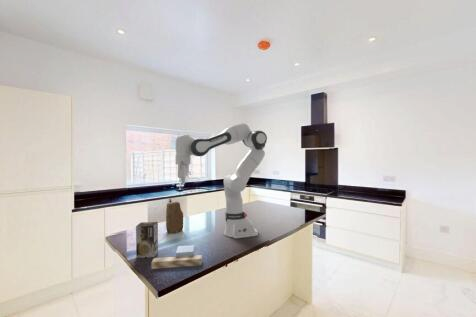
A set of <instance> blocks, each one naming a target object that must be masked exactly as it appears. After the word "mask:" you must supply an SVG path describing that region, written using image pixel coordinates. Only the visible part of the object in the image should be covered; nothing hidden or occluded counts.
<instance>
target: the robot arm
mask: <svg viewBox="0 0 476 317" xmlns="http://www.w3.org/2000/svg"><path fill="white" fill-rule="evenodd" d="M175 139H176V140H175V165H177V178H178V179H180V184H181V185H185V184H186V177H188V176H189V168H190V165H191V162H192V161H191V156H194V157H204V156H205V155H206V154H208V152H210V151H211V150H212V149H215V148H216V147H219V146H222V145H233V144H236V143H239V142H241V141H242V142H243V143H242V144H244V145H245V146H246V147H247V148H249V151H248V152H247V154H246V155H245V156H244V157H243V158H242V159H241V161H240V162H239V163H238V165H237V167H236V169H235V171H234V172H233V173H230V174H229V173H228V174H227V175H226V176H225V177H224V178H223V188H224V195H225V212H224V219H225V224H224V231H223V235H224V236H226V237H228V238H229V237H230V238H233V239H241V238H250V237H256V236H258V235H259V232H258V230H257V229H256V228H255V225H254V224H253V222H252V221H251V220H250V219H249V218H247V217H248V214H247V212H244V210H243V209H244V208H243V197H242V192H243V191H245V189H246V187H247V183H248V182H249V180H250V178H251V176H252V174H253V173H254V172H255V170H256V169H257V168H258V166H259V165H260V164H261V163H262V161H263V159H264V158H265V154H266V153H265V150H264V148H265V147H266V144H267V140H268V136H267V134H266V132H265V131H263V130H253V131H252V130H251V129H250V126H249V125H248V124H247V123H238V124H234V125H231V126H228V127H227V128H225V129H223V130H222V131H221V132H220V133H219V134H217V135H214V136H211V137H209V138H196V139H195V138H194V137H191V136H190V135H189V134H181V135H178V136H177V137H176V138H175Z"/></svg>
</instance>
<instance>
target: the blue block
mask: <svg viewBox="0 0 476 317" xmlns="http://www.w3.org/2000/svg"><path fill="white" fill-rule="evenodd" d="M194 255H195V245H194V244H192V245H191V244H190V245H178V246H177V248H176V251H175V257H178V256H194Z"/></svg>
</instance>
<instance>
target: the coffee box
mask: <svg viewBox="0 0 476 317" xmlns="http://www.w3.org/2000/svg"><path fill="white" fill-rule="evenodd" d="M158 223H159V222H158V221H148V222H143V221H142V222H139V223H138V224H137V225H136V226H135V237H136V238H135V243H136V245H135V246H136V247H135V250H136V254H135V255H136V256H135V257H136V259H141V258H142V259H143V258H144V259H145V257H147V258H156V256H157V254H158V253H159V233H158V232H159V230H158V228H159V224H158Z"/></svg>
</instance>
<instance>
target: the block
mask: <svg viewBox="0 0 476 317" xmlns="http://www.w3.org/2000/svg"><path fill="white" fill-rule="evenodd" d="M165 215H166V216H165V228H166V229H165V230H166V232H167V233H168V234H177V233H181V232H182V231H183V228H184V212H183V211H182V208H181V204H180V202H179V201H172V202H168V203H166V214H165Z"/></svg>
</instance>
